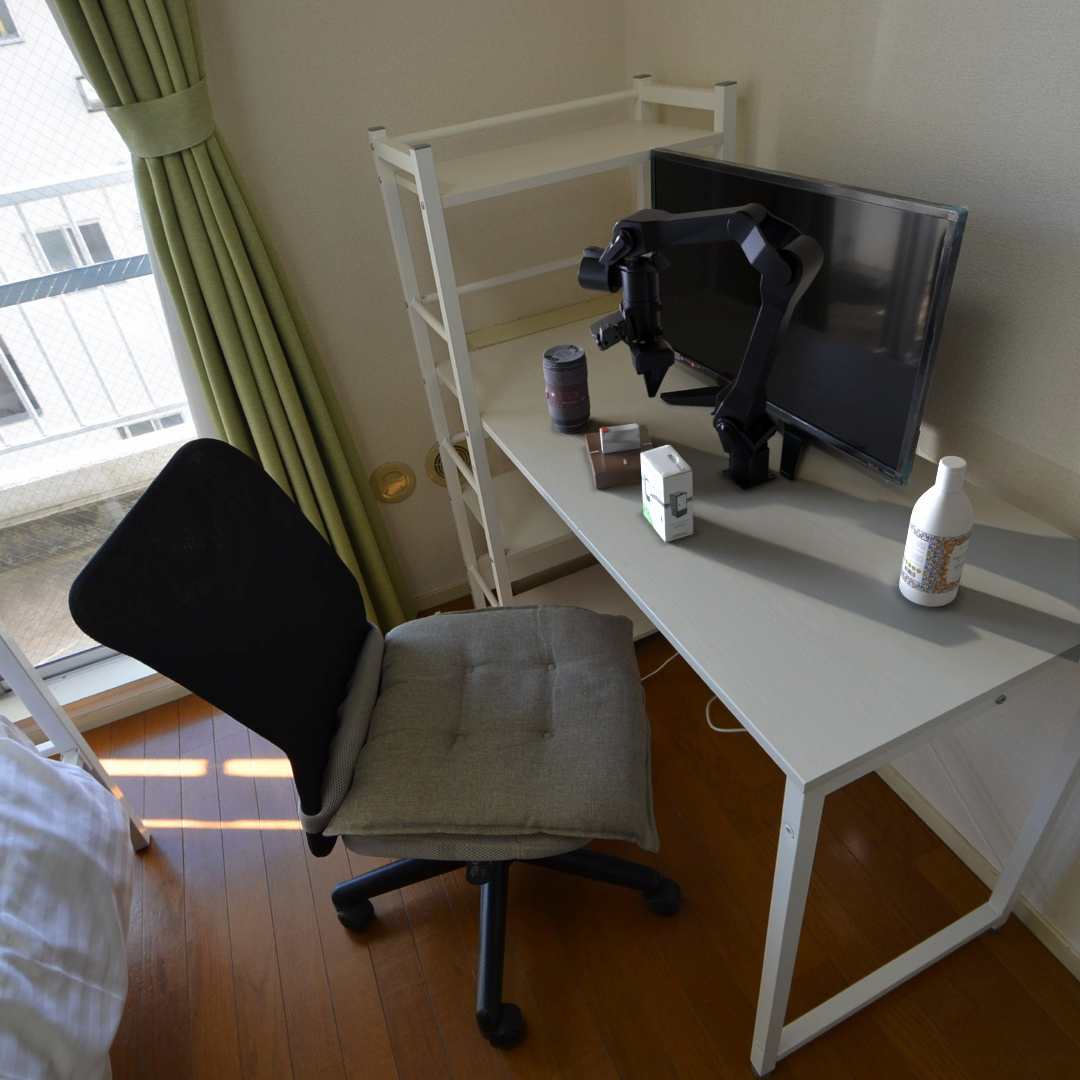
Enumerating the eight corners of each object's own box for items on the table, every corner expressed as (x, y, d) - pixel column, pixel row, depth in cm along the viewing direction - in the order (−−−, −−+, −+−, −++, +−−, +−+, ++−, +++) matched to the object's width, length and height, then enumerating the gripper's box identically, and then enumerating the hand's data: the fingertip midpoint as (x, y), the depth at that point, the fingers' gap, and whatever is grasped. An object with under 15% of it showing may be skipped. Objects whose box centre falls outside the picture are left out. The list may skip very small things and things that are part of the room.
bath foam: (934, 616, 102) (963, 484, 90) (887, 590, 107) (908, 462, 95) (967, 591, 105) (999, 461, 93) (919, 567, 110) (944, 440, 98)
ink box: (642, 514, 128) (638, 450, 121) (670, 505, 129) (668, 442, 122) (664, 543, 121) (662, 477, 114) (694, 534, 122) (693, 468, 115)
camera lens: (571, 439, 150) (562, 365, 141) (542, 427, 155) (532, 355, 146) (601, 422, 154) (594, 349, 145) (572, 411, 159) (564, 339, 150)
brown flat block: (660, 479, 135) (660, 463, 134) (596, 489, 136) (594, 473, 134) (645, 439, 147) (644, 424, 145) (586, 448, 147) (584, 433, 145)
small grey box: (638, 443, 140) (637, 421, 138) (640, 448, 139) (639, 426, 136) (601, 448, 140) (599, 427, 138) (603, 453, 139) (601, 432, 136)
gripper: (582, 285, 135) (590, 371, 144) (600, 325, 120) (609, 418, 129) (647, 274, 135) (651, 360, 144) (674, 313, 120) (677, 406, 129)
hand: (645, 385), depth 137 cm, fingers open, 9 cm apart
